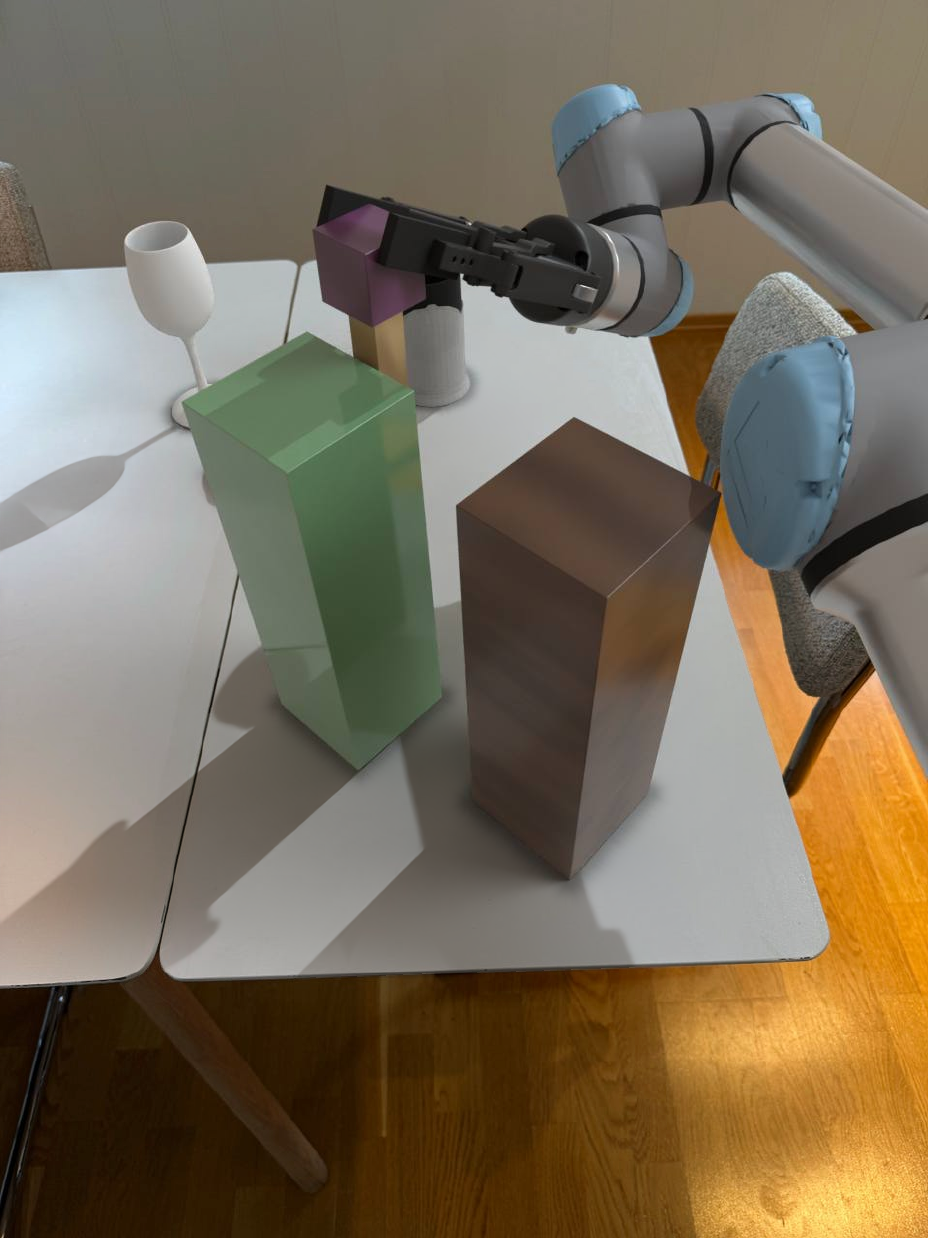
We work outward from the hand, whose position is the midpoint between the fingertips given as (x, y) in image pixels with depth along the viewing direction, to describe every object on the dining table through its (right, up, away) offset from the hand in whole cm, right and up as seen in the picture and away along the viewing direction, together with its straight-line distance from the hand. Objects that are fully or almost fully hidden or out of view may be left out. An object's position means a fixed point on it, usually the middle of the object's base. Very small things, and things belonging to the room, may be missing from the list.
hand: (355, 225), depth 50 cm
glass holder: (+2, +8, +60) cm, 60 cm away
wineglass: (-24, +3, +57) cm, 62 cm away
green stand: (-3, -29, +28) cm, 41 cm away
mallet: (-1, -6, +5) cm, 8 cm away
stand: (+14, -36, +21) cm, 44 cm away
